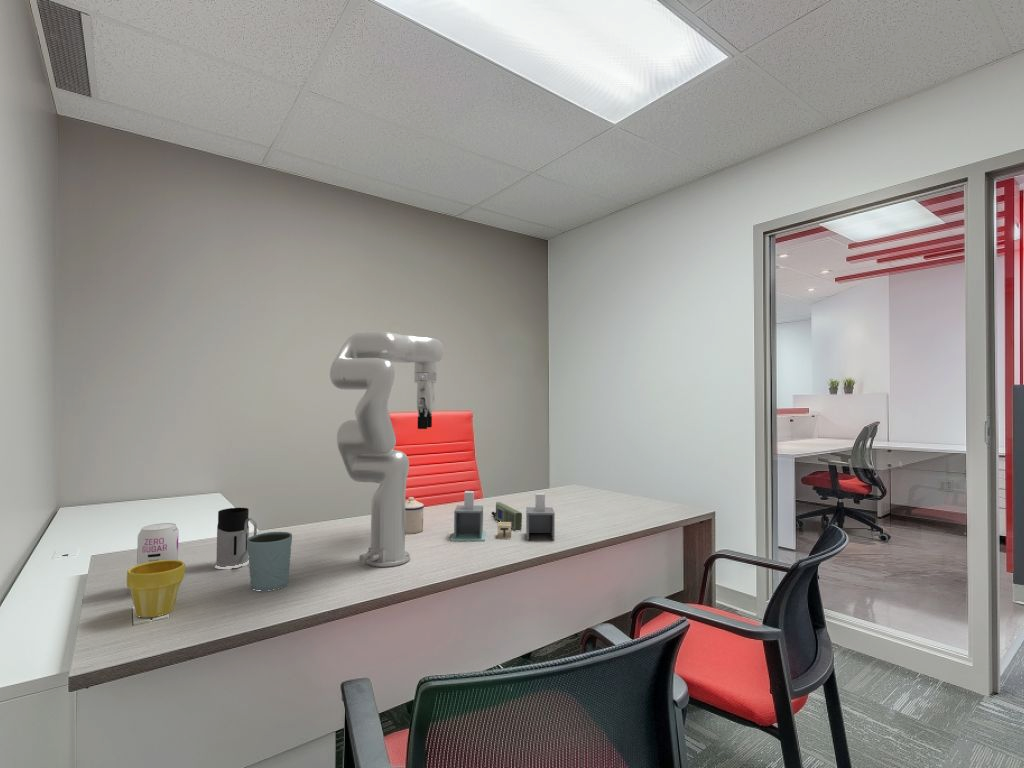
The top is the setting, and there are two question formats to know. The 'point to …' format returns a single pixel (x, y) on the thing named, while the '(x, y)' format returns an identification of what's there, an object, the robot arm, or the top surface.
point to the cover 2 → (540, 517)
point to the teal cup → (269, 560)
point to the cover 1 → (468, 516)
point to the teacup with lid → (413, 516)
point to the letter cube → (504, 529)
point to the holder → (233, 536)
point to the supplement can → (157, 543)
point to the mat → (469, 536)
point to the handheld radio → (508, 515)
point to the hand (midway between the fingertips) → (424, 428)
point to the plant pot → (155, 586)
